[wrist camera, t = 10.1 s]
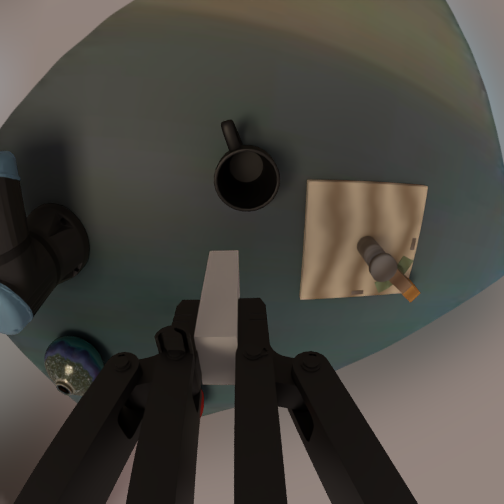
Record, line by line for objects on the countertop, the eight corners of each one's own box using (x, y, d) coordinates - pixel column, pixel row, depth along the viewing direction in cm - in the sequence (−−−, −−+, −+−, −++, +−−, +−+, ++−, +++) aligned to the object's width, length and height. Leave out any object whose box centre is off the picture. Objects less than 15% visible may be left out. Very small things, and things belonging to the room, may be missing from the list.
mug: (257, 109, 42) (260, 110, 33) (279, 183, 47) (287, 201, 39) (204, 126, 43) (194, 131, 34) (228, 197, 48) (226, 219, 40)
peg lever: (349, 247, 51) (366, 272, 44) (367, 228, 49) (387, 251, 42) (396, 290, 56) (414, 316, 48) (412, 274, 54) (431, 299, 47)
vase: (61, 360, 66) (42, 397, 54) (52, 317, 59) (27, 356, 47) (112, 377, 68) (98, 417, 56) (109, 336, 61) (90, 380, 49)
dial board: (299, 295, 57) (300, 300, 56) (307, 179, 47) (308, 181, 46) (402, 289, 58) (405, 293, 56) (424, 185, 47) (428, 187, 46)
